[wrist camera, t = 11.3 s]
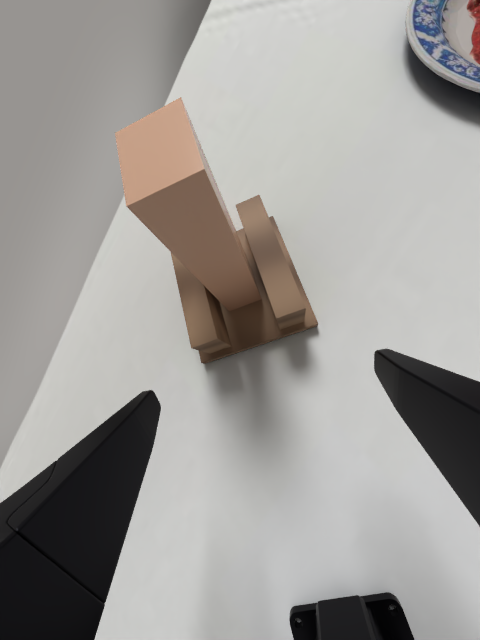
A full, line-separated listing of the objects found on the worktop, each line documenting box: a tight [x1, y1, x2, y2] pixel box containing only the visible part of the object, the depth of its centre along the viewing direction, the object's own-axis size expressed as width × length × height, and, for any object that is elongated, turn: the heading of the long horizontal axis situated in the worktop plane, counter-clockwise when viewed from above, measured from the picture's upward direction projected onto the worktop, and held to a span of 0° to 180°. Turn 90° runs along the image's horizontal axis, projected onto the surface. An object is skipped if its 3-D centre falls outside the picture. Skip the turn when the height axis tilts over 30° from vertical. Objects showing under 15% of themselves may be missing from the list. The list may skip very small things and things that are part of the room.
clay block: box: [115, 98, 262, 311], centre depth 14 cm, size 4×3×12 cm
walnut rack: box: [171, 195, 318, 364], centre depth 19 cm, size 11×10×4 cm
